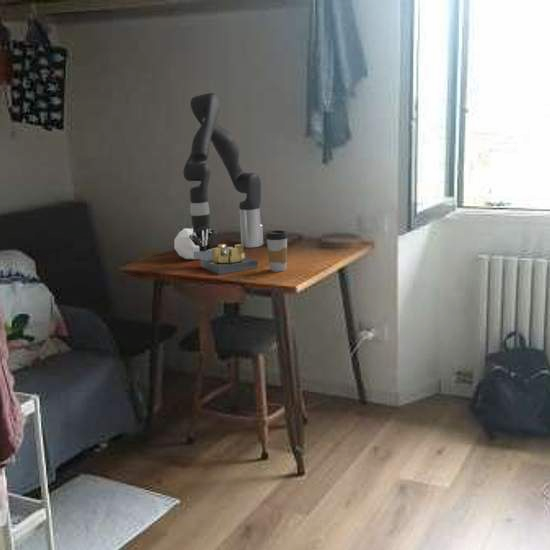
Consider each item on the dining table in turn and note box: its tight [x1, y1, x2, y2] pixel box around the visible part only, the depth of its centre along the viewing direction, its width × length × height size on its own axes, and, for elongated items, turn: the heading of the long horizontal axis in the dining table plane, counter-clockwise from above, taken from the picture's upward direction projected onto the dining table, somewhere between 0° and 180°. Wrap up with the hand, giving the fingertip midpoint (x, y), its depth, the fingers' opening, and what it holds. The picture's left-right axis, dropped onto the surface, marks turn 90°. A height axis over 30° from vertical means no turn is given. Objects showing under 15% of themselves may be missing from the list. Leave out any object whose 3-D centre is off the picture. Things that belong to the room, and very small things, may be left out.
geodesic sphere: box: [173, 227, 200, 260], centre depth 310 cm, size 14×14×14 cm
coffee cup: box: [265, 229, 288, 273], centre depth 282 cm, size 8×8×15 cm
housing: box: [199, 246, 259, 275], centre depth 291 cm, size 17×17×8 cm
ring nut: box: [193, 243, 246, 263], centre depth 291 cm, size 21×12×5 cm, turn 75°
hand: (203, 254), depth 297 cm, fingers closed
